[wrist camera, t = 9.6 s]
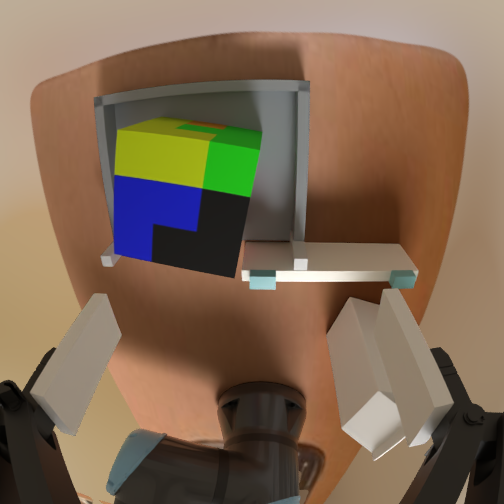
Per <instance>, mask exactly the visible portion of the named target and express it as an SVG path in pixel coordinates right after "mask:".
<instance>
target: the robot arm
mask: <svg viewBox="0 0 504 504" xmlns="http://www.w3.org/2000/svg"><path fill="white" fill-rule="evenodd" d="M373 335H374V338H375V340H376V343H377V346H378V349H379V352H380V355H381V358H382V361H383V364H384V367H385V370H386V373H387V376H388V379H389V382H390V385H391V389H392V392H393V395H394V398H395V402H396V405H397V408H398V412H399V415H400V419H401V422H402V426H403V429H404V433H405V437H406V440H407V444H408V447H411V446H416V445H420V444H424V443H426V442H427V441H428V439H429V438H430V437H431V436H432V439H433V443H434V444H433V445H432V446H431V447H430V449H429V450H428V451H427V453H426V454H425V456H426V458H425V460H424V462H423V464H422V466H421V468H420V469H419V471H418V473H417V475H416V477H415V478H414V480H413V482H412V484H411V485H410V487H409V489H408V490H407V492H406V494H405V495H404V497H403V499H402V500H401V502H400V503H399V504H456V502H457V499H458V498H459V495H460V493H461V491H462V489H463V486H464V484H465V482H466V479H467V477H468V475H469V472H470V476H469V482H468V488H467V493H466V498H465V503H464V504H504V412H503V413H491V412H485V411H484V410H483V409H482V407H480V406H479V405H477V404H473V403H472V402H471V400H470V398H469V396H468V394H467V392H466V390H465V387H464V385H463V383H462V381H461V379H460V377H459V375H458V374H457V371H456V369H455V367H453V363H452V361H451V359H450V357H449V355H448V354H447V353H446V352H445V351H444V350H443V349H442V348H440V347H439V348H432V349H429V347H428V345H427V343H426V341H425V339H424V337H423V335H422V333H421V331H420V329H419V327H418V325H417V323H416V321H415V319H414V317H413V315H412V313H411V311H410V309H409V308H408V306H407V304H406V302H405V300H404V298H403V297H402V295H401V293H400V291H399V289H398V288H394V289H383V292H382V297H381V301H380V306H379V311H378V315H377V320H376V324H375V328H374V333H373ZM121 336H122V334H121V332H120V329H119V327H118V324H117V321H116V319H115V316H114V313H113V311H112V308H111V305H110V302H109V299H108V297H107V294H102V293H94V294H93V295H92V297H91V298H90V300H89V301H88V302H87V304H86V305H85V307H84V308H83V310H82V311H81V313H80V314H79V315H78V317H77V318H76V320H75V321H74V323H73V324H72V326H71V327H70V329H69V330H68V332H67V333H66V335H65V336H64V338H63V339H62V341H61V343H60V344H59V346H58V347H57V348H54V347H53V348H52V349H51V350H50V351H48V352H47V353H46V354H45V355H44V357H43V359H42V360H41V362H40V364H39V365H38V366H37V368H36V371H34V373H33V375H32V376H31V378H30V379H29V381H28V383H27V384H26V386H25V388H24V389H23V391H22V392H21V390H20V389H19V388H18V387H17V385H16V383H14V382H13V381H10V380H6V381H3V382H1V383H0V504H81V502H80V500H79V498H78V495H77V493H76V491H75V488H74V486H73V484H72V481H71V478H70V475H69V473H68V470H67V467H66V464H65V461H64V459H63V456H62V453H61V450H60V447H59V443H58V440H57V437H56V434H55V432H54V431H53V428H54V426H55V425H56V426H57V427H58V429H59V430H60V431H61V432H63V433H66V434H69V435H73V436H76V433H77V431H78V428H79V426H80V424H81V421H82V419H83V417H84V415H85V412H86V410H87V408H88V405H89V403H90V401H91V399H92V396H93V394H94V392H95V390H96V388H97V385H98V383H99V381H100V379H101V377H102V374H103V373H104V371H105V369H106V366H107V364H108V362H109V360H110V358H111V356H112V354H113V352H114V350H115V348H116V346H117V344H118V342H119V340H120V338H121ZM217 413H218V419H219V423H220V427H221V431H222V435H223V439H224V449H219V448H215V447H211V446H206V445H202V444H198V443H193V442H189V441H185V440H182V439H178V438H174V437H170V436H167V434H166V433H163V434H161V433H157V432H153V431H149V430H145V429H137V430H134V431H133V432H131V433H130V435H129V436H128V437H127V438H126V440H125V442H124V444H123V445H122V447H121V449H120V451H119V453H118V455H117V457H116V459H115V462H114V464H113V466H112V469H111V472H110V474H109V479H108V482H107V485H106V490H107V492H109V493H110V494H111V495H113V496H115V501H114V504H299V500H300V496H299V474H298V473H299V472H298V450H297V443H298V440H299V437H300V434H301V431H302V428H303V425H304V422H305V419H306V402H305V399H304V398H303V396H302V395H301V394H300V393H299V392H297V391H296V390H294V389H292V388H290V387H287V386H284V385H281V384H276V383H268V382H254V383H246V384H242V385H238V386H235V387H233V388H231V389H229V390H227V391H226V392H225V393H223V394H222V396H221V397H220V399H219V404H218V411H217Z"/></svg>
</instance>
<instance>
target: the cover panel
mask: <svg viewBox="0 0 504 504" xmlns="http://www.w3.org/2000/svg"><path fill="white" fill-rule="evenodd" d="M304 243H305V248H306V252H307V257H308V263H307V270H294V268H293V260H292V252H291V244H290V242H246V244H245V251H244V258H243V265H242V281H250V289H273V290H276V281H280V282H363V281H389V283H390V285H391V287H392V289H394V288H398V289H403V288H413V287H414V283H415V281H416V278H417V275H418V269H417V268H416V266H415V265H414V264H413V262H412V261H411V259H410V258H409V256H408V255H407V254H406V252H405V251H404V249H403V248H402V247H401V245H400V244H377V243H315V242H304Z"/></svg>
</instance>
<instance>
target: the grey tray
mask: <svg viewBox="0 0 504 504" xmlns="http://www.w3.org/2000/svg"><path fill="white" fill-rule="evenodd" d="M94 108H95V119H96V130H97V139H98V147H99V155H100V163H101V170H102V177H103V183H104V189H105V195H106V201H107V206H108V212H109V217H110V222H111V227H112V232H113V237H114V173H115V154H116V140H117V130H119V129H122V128H125V127H128V126H131V125H134V124H137V123H141V122H144V121H147V120H151V119H154V118H158V117H161V116H162V117H171V118H180V119H187V120H195V121H202V122H209V123H215V124H222V125H228V126H234V127H239V128H245V129H250V130H256V131H261V132H262V140H261V147H260V153H259V158H258V163H257V168H256V173H255V178H254V182H253V187H252V192H251V197H250V202H249V207H248V212H247V217H246V222H245V227H244V232H243V237H242V240H287V241H290V244H291V252H292V260H293V268H294V270H307V263H308V257H307V252H306V248H305V243H304V236H305V219H306V201H307V181H308V155H309V116H310V81H302V80H227V81H209V82H196V83H185V84H175V85H166V86H158V87H151V88H144V89H137V90H131V91H125V92H119V93H114V94H109V95H104V96H99V97H94ZM121 256H122V255H117V254H114V241H113V242H112V243H111V244H110V246H109V247H108V248H107V249H106V250H105V251H104V252H103V254H102V255H101V260H102V264H103V266H106V267H113V266H114V265H115V264H116V262H117V261H118V260H119V258H120V257H121Z"/></svg>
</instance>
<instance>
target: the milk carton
mask: <svg viewBox="0 0 504 504" xmlns="http://www.w3.org/2000/svg"><path fill="white" fill-rule="evenodd" d="M379 306H380V305H378V304H374V303H371V302H367V301H363V300H360V299H356V298H353V297H349V299H348V300H347V302H346V304H345V305H344V307H343V309H342V310H341V312H340V314H339V315H338V317H337V319H336V320H335V322H334V323H333V325H332V327H331V328H330V330H329V332H328V333H327V335H326V337H327V343H328V348H329V353H330V359H331V365H332V371H333V376H334V382H335V389H336V395H337V401H338V407H339V414H340V421H341V429H342V430H344V431H345V432H346V433H347V434H349V435H350V436H351V437H352V438H354V439H355V440H356V441H357V442H359V443H360V444H361V445H363V446H364V447H365V448H366V449H368V450H369V451H370V452H372V457H373V461H375V460H376V459H378V458H379V457H381V456H382V455H383V454H385V453H386V452H387V451H389V450H390V449H391V448H393V447H394V446H395V445H396V444H398V443H399V442H400V441H401V440H403V439H404V438H405V433H404V429H403V426H402V422H401V419H400V415H399V412H398V408H397V405H396V402H395V398H394V395H393V392H392V389H391V385H390V382H389V379H388V376H387V373H386V370H385V367H384V364H383V361H382V358H381V355H380V352H379V349H378V346H377V343H376V340H375V338H374V335H373V333H374V328H375V324H376V320H377V315H378V311H379Z"/></svg>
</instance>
